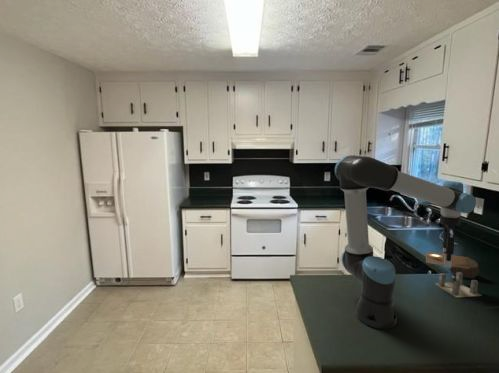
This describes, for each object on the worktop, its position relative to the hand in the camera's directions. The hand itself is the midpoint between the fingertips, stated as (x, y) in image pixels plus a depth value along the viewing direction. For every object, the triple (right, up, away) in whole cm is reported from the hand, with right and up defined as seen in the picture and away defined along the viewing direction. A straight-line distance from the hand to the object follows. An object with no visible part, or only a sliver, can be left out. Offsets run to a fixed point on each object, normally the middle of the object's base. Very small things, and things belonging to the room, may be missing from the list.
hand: (446, 264), depth 128 cm
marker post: (+9, -12, +9) cm, 17 cm away
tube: (0, 0, -1) cm, 1 cm away
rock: (+20, -12, +16) cm, 28 cm away
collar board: (+7, -14, +3) cm, 15 cm away
